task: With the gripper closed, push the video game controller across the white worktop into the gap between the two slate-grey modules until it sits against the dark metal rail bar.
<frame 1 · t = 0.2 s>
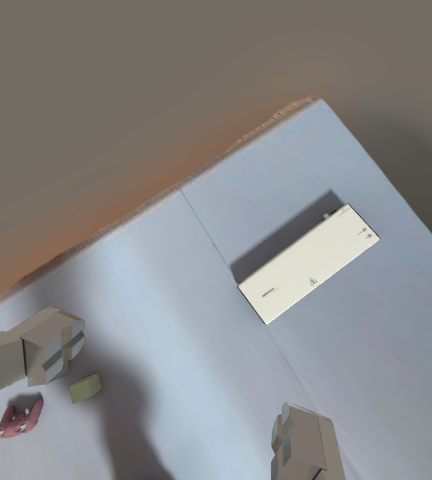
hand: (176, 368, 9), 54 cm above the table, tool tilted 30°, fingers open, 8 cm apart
mounted modules: (27, 364, 64), on the table
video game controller: (29, 412, 63), on the table
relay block: (91, 383, 62), on the table
laminator: (299, 262, 62), on the table
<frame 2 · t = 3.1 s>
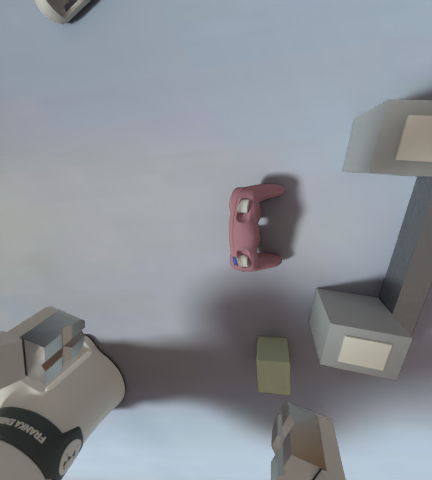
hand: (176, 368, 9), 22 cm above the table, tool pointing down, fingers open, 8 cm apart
rail bar: (402, 242, 26), on the table
mounted modules: (361, 238, 26), on the table
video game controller: (258, 224, 29), on the table
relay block: (272, 351, 33), on the table
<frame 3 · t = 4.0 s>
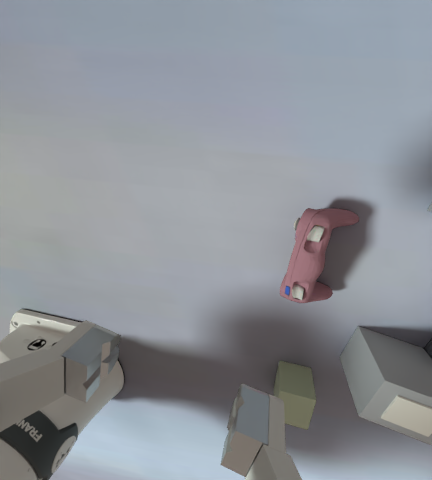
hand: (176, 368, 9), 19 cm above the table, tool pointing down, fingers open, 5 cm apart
mounted modules: (425, 285, 24), on the table
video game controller: (312, 248, 25), on the table
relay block: (291, 377, 31), on the table
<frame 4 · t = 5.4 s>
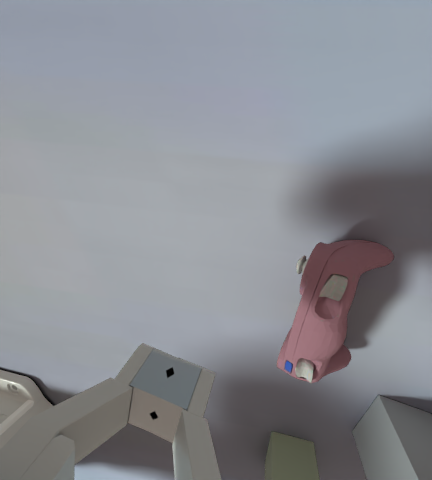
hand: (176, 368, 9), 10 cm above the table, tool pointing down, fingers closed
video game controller: (321, 291, 18), on the table
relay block: (287, 451, 24), on the table
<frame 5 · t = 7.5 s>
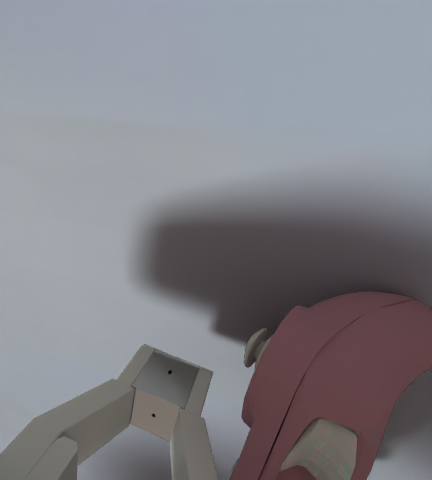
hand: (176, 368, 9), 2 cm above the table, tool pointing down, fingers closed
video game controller: (305, 367, 10), on the table, touching gripper
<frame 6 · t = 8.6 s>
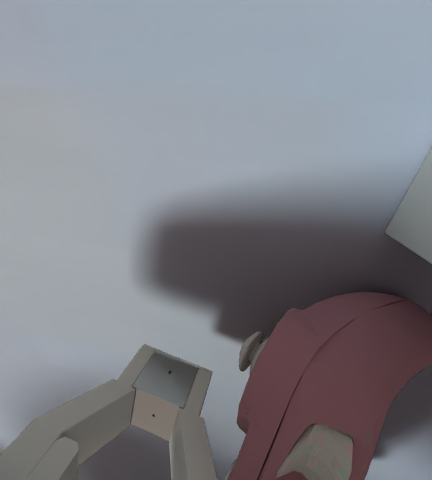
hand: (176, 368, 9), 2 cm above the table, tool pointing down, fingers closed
mounted modules: (386, 408, 10), on the table
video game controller: (299, 367, 10), on the table, touching gripper
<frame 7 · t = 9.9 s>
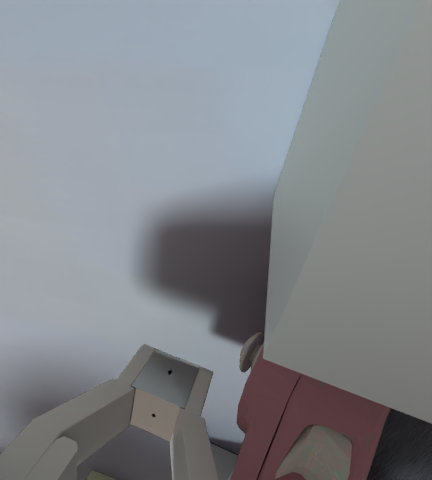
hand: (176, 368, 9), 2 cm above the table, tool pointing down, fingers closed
rail bar: (401, 413, 10), on the table
mounted modules: (299, 373, 10), on the table
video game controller: (304, 369, 10), on the table, touching gripper
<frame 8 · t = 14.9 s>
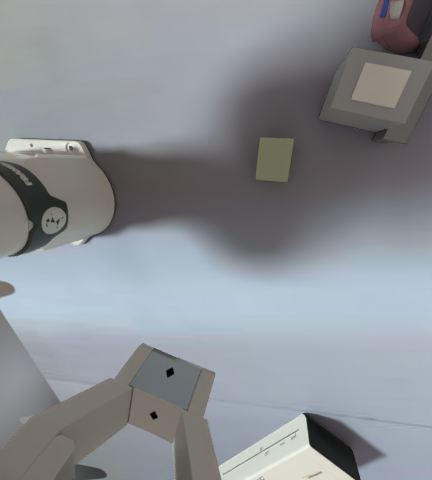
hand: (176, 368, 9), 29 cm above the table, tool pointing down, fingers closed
mounted modules: (395, 4, 25), on the table
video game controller: (398, 2, 25), on the table
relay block: (274, 160, 33), on the table
laminator: (274, 458, 53), on the table
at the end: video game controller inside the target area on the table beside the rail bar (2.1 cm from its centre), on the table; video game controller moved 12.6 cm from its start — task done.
